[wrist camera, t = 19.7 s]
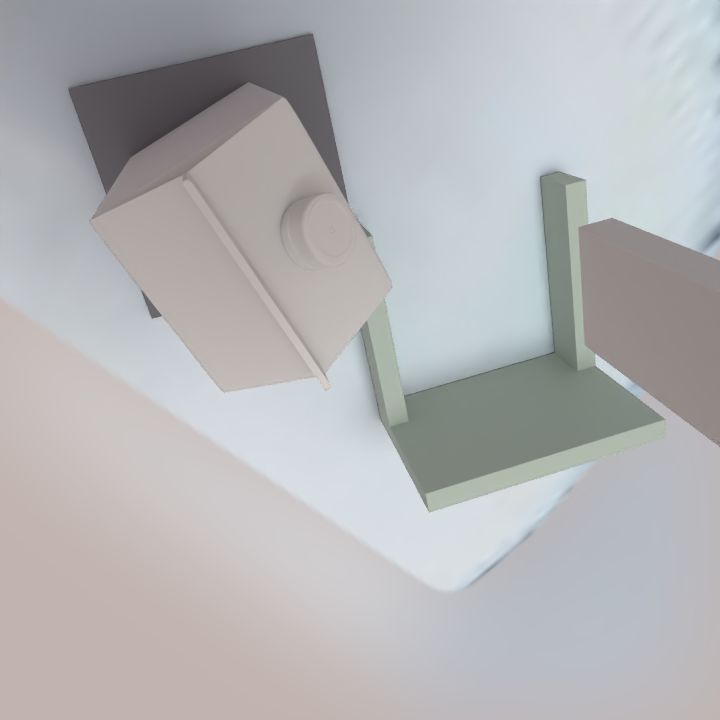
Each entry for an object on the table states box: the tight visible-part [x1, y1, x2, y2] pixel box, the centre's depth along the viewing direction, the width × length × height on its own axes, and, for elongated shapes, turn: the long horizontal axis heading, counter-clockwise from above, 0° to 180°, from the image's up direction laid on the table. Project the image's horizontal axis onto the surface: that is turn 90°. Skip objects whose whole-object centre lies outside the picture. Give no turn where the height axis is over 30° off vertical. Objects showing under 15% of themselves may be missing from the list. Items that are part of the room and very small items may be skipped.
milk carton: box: [89, 82, 392, 392], centre depth 27 cm, size 7×7×19 cm
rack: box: [360, 172, 665, 512], centre depth 37 cm, size 13×13×10 cm
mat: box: [68, 34, 348, 318], centre depth 36 cm, size 12×12×1 cm
